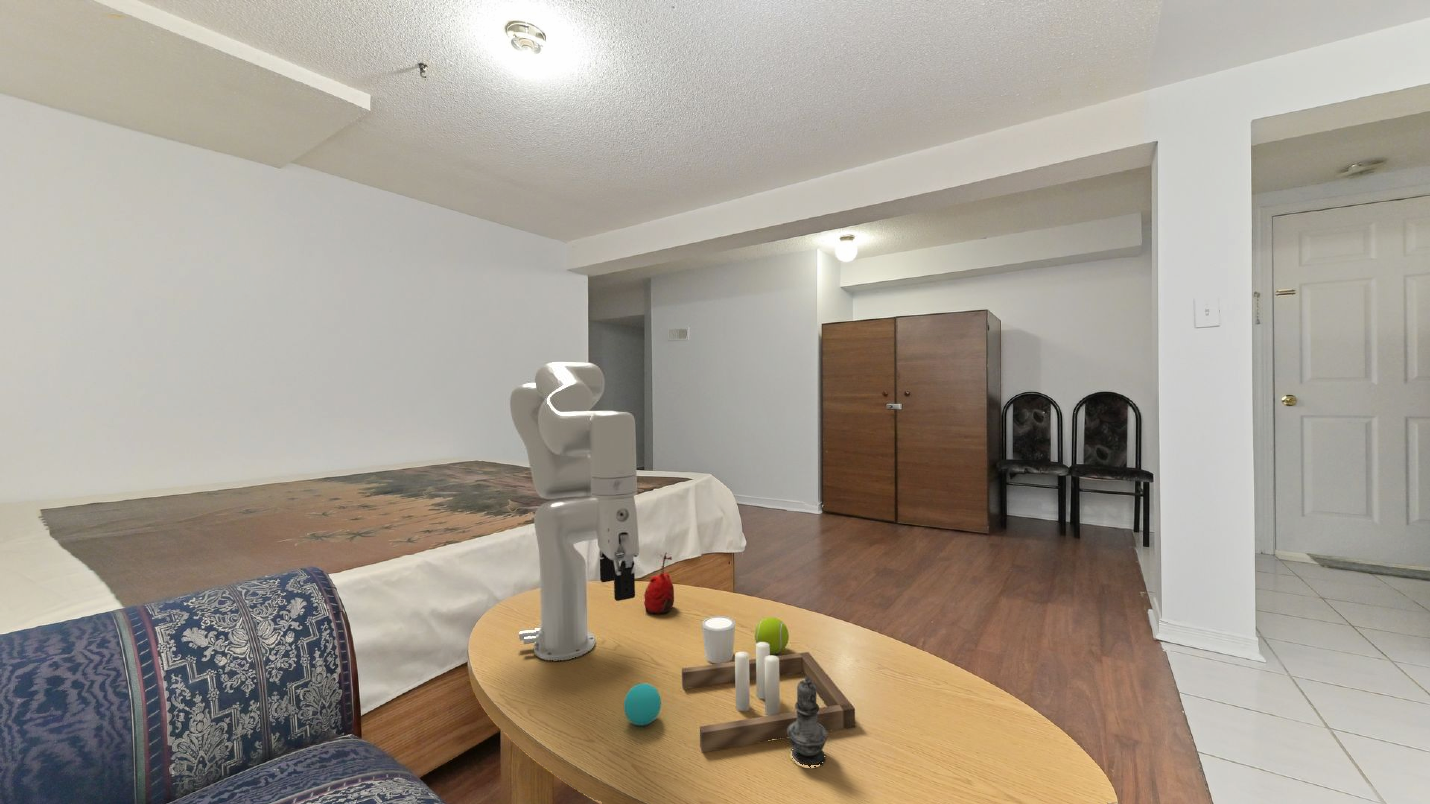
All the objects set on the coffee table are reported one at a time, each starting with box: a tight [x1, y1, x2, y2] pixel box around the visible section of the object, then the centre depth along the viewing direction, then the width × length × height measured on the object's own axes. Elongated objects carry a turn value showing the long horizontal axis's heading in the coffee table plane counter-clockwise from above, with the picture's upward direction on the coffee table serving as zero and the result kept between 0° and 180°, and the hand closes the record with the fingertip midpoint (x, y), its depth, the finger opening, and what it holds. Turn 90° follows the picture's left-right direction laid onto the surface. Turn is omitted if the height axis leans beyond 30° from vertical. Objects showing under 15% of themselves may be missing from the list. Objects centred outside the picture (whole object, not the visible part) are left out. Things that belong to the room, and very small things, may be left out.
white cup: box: [701, 615, 736, 664], centre depth 108 cm, size 7×7×7 cm
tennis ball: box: [754, 616, 790, 655], centre depth 109 cm, size 7×7×7 cm
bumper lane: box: [681, 651, 856, 753], centre depth 91 cm, size 25×19×3 cm
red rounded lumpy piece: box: [643, 552, 675, 615], centre depth 131 cm, size 8×7×15 cm
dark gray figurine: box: [787, 676, 829, 768], centre depth 78 cm, size 6×6×12 cm
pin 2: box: [764, 654, 781, 716], centre depth 89 cm, size 2×2×9 cm
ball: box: [623, 682, 662, 726], centre depth 87 cm, size 6×6×6 cm
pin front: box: [734, 651, 751, 712], centre depth 90 cm, size 2×2×9 cm
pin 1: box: [755, 642, 771, 700], centre depth 94 cm, size 2×2×9 cm
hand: (616, 589), depth 88 cm, fingers open, 9 cm apart
